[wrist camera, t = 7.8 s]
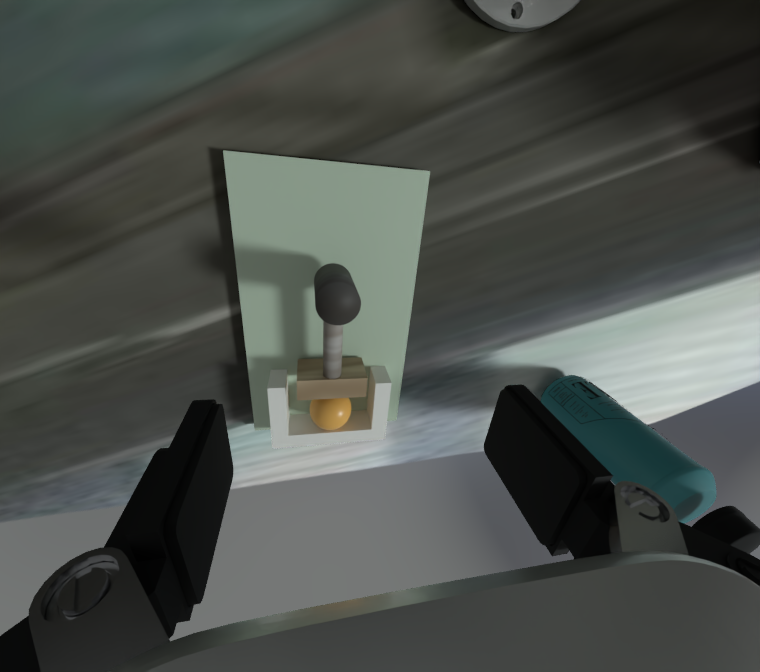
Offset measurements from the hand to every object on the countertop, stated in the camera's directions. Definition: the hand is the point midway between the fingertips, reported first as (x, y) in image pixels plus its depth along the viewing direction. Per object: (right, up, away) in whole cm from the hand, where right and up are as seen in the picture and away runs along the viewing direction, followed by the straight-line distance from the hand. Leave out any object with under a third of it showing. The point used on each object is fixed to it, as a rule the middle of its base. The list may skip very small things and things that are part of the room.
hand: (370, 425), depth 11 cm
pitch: (-4, +5, +19) cm, 20 cm away
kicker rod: (-4, +4, +18) cm, 19 cm away
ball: (-4, -4, +20) cm, 21 cm away
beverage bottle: (+22, -3, +30) cm, 37 cm away
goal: (-5, -3, +22) cm, 23 cm away
